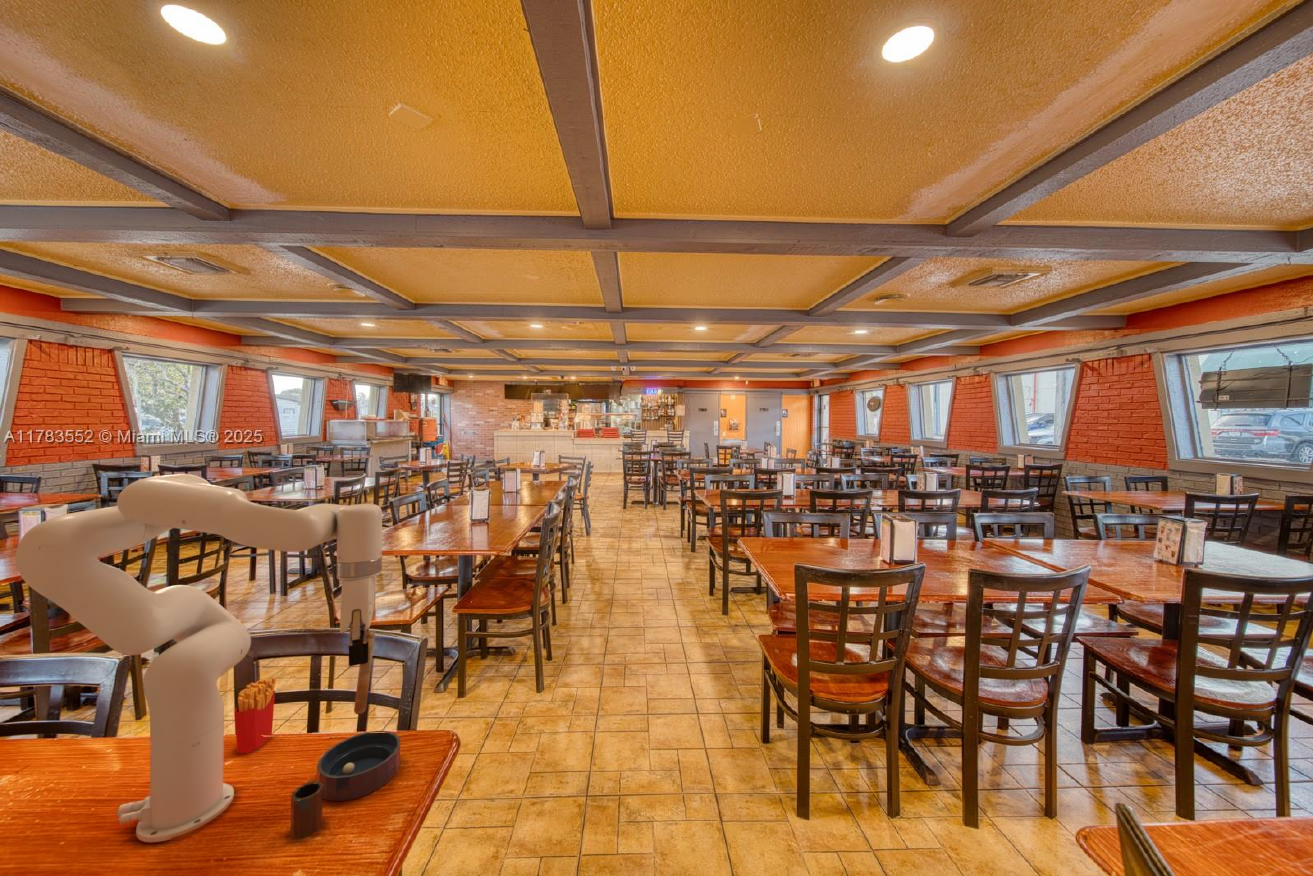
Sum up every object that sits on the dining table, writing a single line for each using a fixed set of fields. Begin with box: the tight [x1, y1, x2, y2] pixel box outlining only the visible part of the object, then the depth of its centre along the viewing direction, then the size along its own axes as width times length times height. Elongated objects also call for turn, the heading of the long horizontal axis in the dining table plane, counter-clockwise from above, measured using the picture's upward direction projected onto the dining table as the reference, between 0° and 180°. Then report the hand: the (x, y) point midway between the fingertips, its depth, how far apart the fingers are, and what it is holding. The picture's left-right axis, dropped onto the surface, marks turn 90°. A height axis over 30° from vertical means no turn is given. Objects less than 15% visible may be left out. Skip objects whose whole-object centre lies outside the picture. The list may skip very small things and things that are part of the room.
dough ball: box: [343, 763, 354, 775], centre depth 95 cm, size 2×2×2 cm
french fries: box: [233, 677, 277, 755], centre depth 105 cm, size 9×4×13 cm, turn 3°
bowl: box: [316, 730, 402, 802], centre depth 95 cm, size 14×14×5 cm
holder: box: [290, 780, 324, 839], centre depth 82 cm, size 4×4×7 cm
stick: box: [353, 630, 376, 715], centre depth 93 cm, size 2×2×16 cm
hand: (359, 660), depth 92 cm, fingers closed on stick, 2 cm apart
